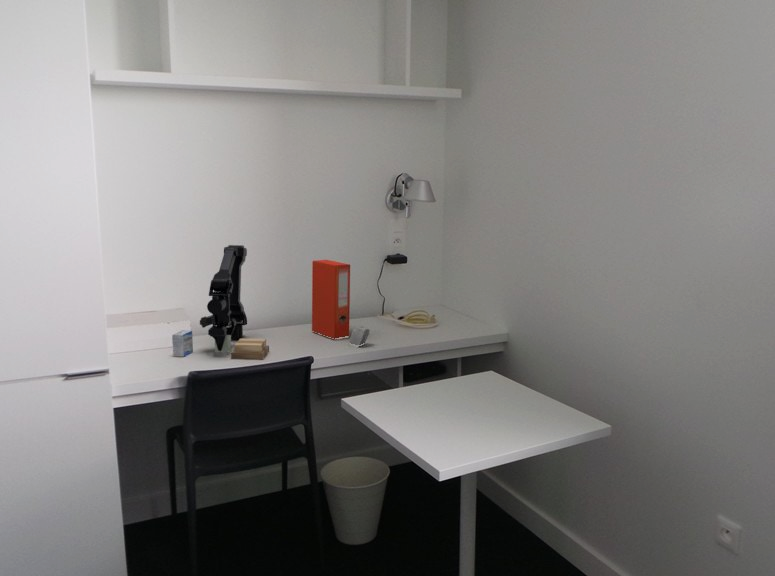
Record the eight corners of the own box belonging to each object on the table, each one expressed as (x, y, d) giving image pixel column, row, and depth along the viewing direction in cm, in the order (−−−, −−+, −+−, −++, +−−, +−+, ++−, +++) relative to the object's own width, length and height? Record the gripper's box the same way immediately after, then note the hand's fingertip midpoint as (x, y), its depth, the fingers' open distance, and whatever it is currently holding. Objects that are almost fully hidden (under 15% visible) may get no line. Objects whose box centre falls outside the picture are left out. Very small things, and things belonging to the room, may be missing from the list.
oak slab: (240, 345, 271) (240, 338, 270) (266, 346, 271) (266, 338, 270) (234, 352, 261) (234, 344, 261) (260, 353, 261) (260, 345, 260)
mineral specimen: (365, 347, 278) (361, 328, 277) (348, 348, 283) (344, 329, 282) (375, 343, 284) (371, 324, 283) (358, 344, 289) (354, 325, 288)
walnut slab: (238, 352, 273) (238, 344, 272) (269, 353, 272) (268, 345, 272) (231, 360, 261) (230, 352, 260) (262, 361, 260) (262, 353, 260)
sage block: (218, 349, 274) (218, 334, 273) (231, 349, 274) (230, 335, 273) (215, 352, 269) (214, 337, 268) (227, 353, 269) (227, 338, 268)
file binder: (327, 330, 309) (327, 259, 304) (349, 337, 296) (350, 264, 290) (311, 332, 304) (311, 260, 299) (334, 340, 291) (334, 265, 285)
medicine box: (183, 357, 262) (182, 335, 261) (172, 356, 263) (171, 334, 261) (193, 351, 270) (192, 330, 268) (182, 351, 271) (182, 329, 269)
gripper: (208, 303, 278) (209, 341, 281) (194, 313, 260) (195, 353, 263) (236, 304, 278) (236, 342, 281) (223, 314, 260) (224, 354, 262)
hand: (223, 347), depth 272 cm, fingers open, 9 cm apart
